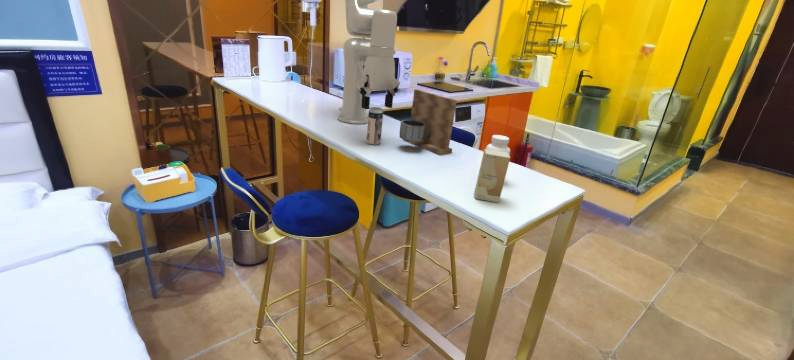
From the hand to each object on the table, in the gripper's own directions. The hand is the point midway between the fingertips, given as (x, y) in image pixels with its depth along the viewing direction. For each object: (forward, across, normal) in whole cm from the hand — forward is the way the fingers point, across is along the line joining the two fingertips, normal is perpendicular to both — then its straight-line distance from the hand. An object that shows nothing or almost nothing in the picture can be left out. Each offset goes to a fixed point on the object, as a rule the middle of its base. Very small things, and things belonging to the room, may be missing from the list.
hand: (377, 107), depth 125 cm
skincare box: (+14, +1, +47) cm, 49 cm away
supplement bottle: (+14, -11, +40) cm, 44 cm away
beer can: (+12, 0, -1) cm, 13 cm away
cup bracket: (+12, -12, +9) cm, 19 cm away
